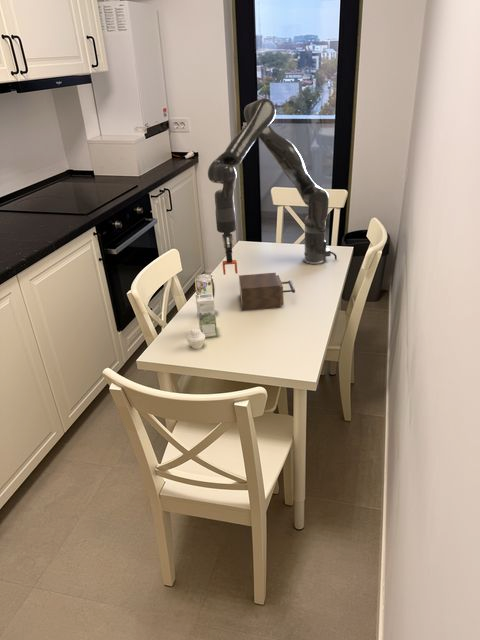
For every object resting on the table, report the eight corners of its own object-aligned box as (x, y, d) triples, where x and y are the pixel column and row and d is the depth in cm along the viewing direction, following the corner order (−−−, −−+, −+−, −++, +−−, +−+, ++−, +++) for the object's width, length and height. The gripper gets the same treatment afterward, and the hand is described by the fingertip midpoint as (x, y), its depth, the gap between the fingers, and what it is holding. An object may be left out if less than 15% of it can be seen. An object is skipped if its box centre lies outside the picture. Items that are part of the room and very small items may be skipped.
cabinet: (276, 293, 201) (275, 272, 197) (280, 307, 191) (279, 285, 186) (240, 296, 200) (238, 275, 196) (242, 310, 190) (241, 288, 185)
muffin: (190, 341, 171) (188, 323, 168) (207, 342, 171) (205, 324, 167) (186, 351, 166) (183, 332, 162) (204, 351, 165) (202, 333, 162)
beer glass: (220, 313, 188) (217, 276, 180) (207, 320, 184) (203, 283, 176) (208, 308, 192) (204, 272, 184) (194, 314, 188) (190, 278, 180)
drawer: (291, 290, 201) (291, 274, 197) (295, 303, 191) (295, 285, 187) (245, 294, 199) (244, 277, 196) (248, 307, 190) (247, 289, 186)
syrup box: (215, 328, 178) (211, 291, 171) (217, 336, 173) (214, 299, 166) (199, 331, 177) (195, 294, 170) (201, 339, 172) (197, 301, 165)
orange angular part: (237, 270, 203) (235, 251, 199) (237, 273, 200) (236, 253, 196) (223, 271, 203) (221, 252, 198) (223, 274, 200) (221, 255, 196)
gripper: (236, 223, 184) (240, 266, 193) (234, 212, 196) (237, 254, 205) (216, 224, 184) (220, 268, 193) (215, 213, 195) (219, 255, 204)
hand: (229, 260), depth 199 cm, fingers closed on orange angular part
